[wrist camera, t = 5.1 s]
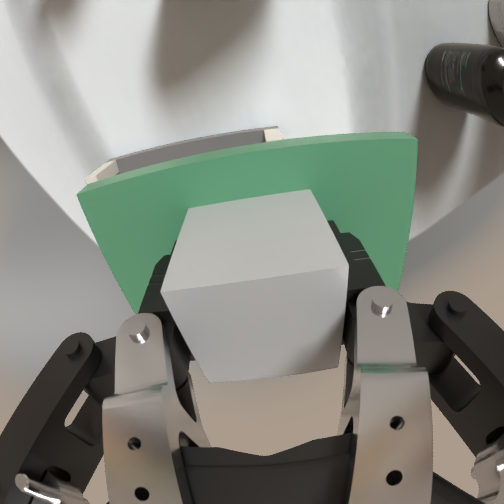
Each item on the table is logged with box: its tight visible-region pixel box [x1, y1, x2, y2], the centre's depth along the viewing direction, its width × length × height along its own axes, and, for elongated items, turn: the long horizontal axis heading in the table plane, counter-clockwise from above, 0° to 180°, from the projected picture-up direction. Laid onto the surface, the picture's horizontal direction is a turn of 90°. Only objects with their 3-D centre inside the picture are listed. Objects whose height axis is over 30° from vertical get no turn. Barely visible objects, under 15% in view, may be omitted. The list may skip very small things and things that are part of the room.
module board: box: [77, 132, 418, 383], centre depth 9 cm, size 12×7×5 cm, turn 99°
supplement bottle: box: [426, 43, 504, 127], centre depth 13 cm, size 7×7×12 cm
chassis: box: [85, 126, 284, 185], centre depth 24 cm, size 16×11×5 cm
